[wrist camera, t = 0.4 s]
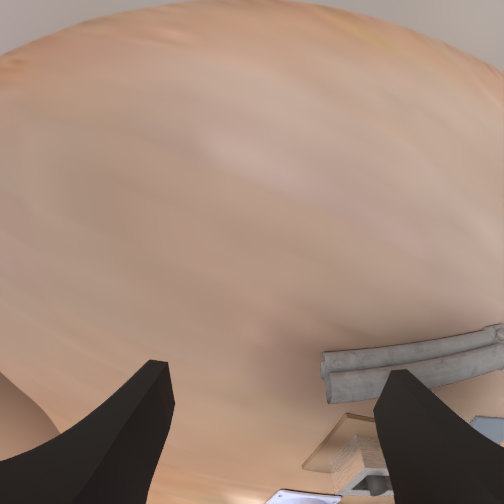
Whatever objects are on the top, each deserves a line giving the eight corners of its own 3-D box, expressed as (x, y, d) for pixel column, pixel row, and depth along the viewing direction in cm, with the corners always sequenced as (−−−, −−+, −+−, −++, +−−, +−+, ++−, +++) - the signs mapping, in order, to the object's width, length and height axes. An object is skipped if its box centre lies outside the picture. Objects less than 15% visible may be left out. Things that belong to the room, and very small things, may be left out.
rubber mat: (464, 478, 24) (465, 479, 24) (412, 482, 24) (413, 485, 23) (518, 418, 21) (519, 420, 21) (476, 415, 21) (477, 418, 21)
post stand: (417, 474, 23) (430, 506, 18) (302, 465, 23) (305, 509, 17) (460, 428, 21) (480, 461, 16) (345, 413, 21) (359, 461, 16)
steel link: (417, 468, 22) (427, 493, 18) (329, 462, 22) (334, 494, 18) (442, 443, 21) (455, 467, 17) (355, 434, 21) (364, 467, 17)
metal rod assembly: (318, 372, 21) (328, 416, 16) (321, 341, 20) (333, 383, 15) (538, 329, 19) (565, 349, 14) (545, 305, 18) (574, 323, 13)
